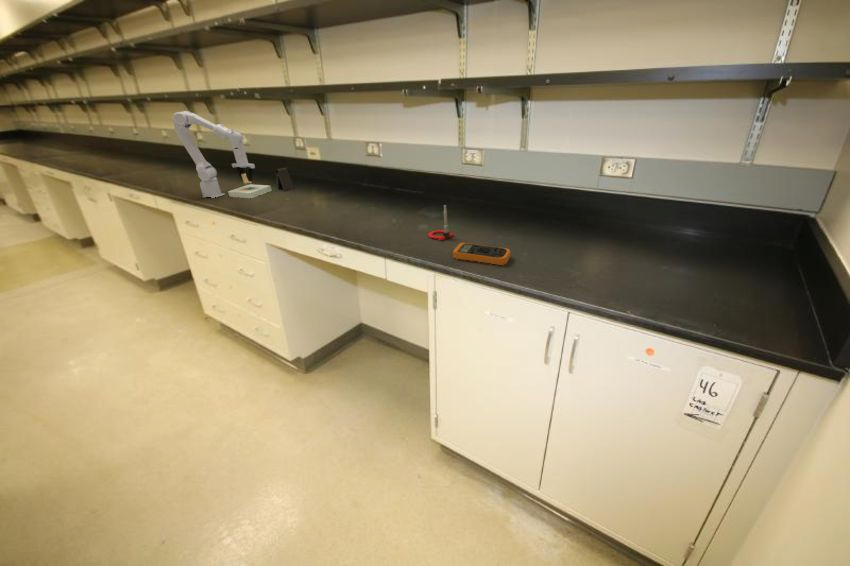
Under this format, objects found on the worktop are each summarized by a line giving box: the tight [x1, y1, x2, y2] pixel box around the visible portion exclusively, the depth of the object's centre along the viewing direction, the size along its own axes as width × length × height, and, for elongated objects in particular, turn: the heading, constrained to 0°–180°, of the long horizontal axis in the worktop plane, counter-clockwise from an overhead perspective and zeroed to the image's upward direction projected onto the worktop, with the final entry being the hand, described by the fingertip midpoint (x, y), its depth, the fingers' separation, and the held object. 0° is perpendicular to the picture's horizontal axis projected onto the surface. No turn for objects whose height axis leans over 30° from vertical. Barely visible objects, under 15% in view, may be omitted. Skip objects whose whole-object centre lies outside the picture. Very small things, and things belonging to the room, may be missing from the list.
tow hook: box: [427, 204, 455, 242], centre depth 139 cm, size 8×13×9 cm
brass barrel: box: [241, 173, 252, 186], centre depth 205 cm, size 4×4×6 cm
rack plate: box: [227, 183, 273, 200], centre depth 209 cm, size 16×16×3 cm
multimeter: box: [452, 242, 511, 266], centre depth 122 cm, size 9×18×3 cm, turn 66°
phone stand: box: [275, 167, 295, 192], centre depth 213 cm, size 9×6×12 cm, turn 50°
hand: (247, 180), depth 206 cm, fingers closed on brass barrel, 4 cm apart
